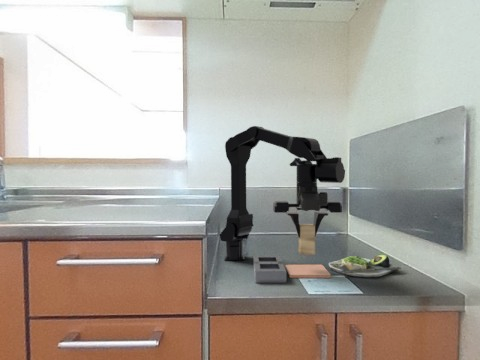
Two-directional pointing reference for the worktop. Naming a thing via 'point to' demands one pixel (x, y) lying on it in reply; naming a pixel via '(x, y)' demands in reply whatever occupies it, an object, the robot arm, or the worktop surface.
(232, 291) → the worktop surface
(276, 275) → the grey slotted holder
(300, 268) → the terracotta tile
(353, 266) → the salad plate
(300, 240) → the maple peg
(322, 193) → the robot arm
